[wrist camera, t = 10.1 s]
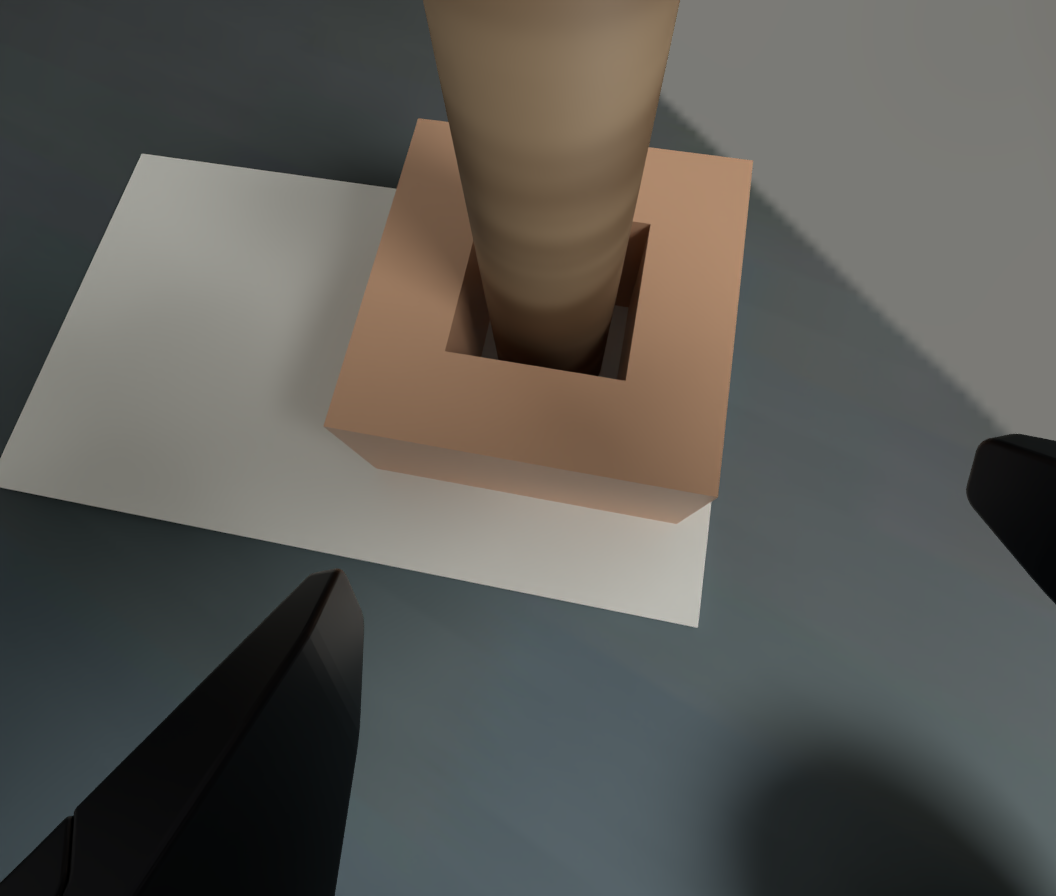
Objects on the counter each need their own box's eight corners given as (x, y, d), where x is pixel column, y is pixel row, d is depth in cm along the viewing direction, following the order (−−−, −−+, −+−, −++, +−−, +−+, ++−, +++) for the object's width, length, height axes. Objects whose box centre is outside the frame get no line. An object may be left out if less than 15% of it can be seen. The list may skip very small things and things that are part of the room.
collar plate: (693, 627, 17) (749, 635, 12) (1, 487, 19) (-179, 448, 15) (735, 245, 21) (790, 137, 16) (150, 163, 23) (45, 46, 18)
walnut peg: (593, 414, 19) (679, 32, 6) (489, 396, 19) (375, -1, 7) (609, 320, 20) (712, -176, 7) (510, 304, 20) (444, -195, 8)
